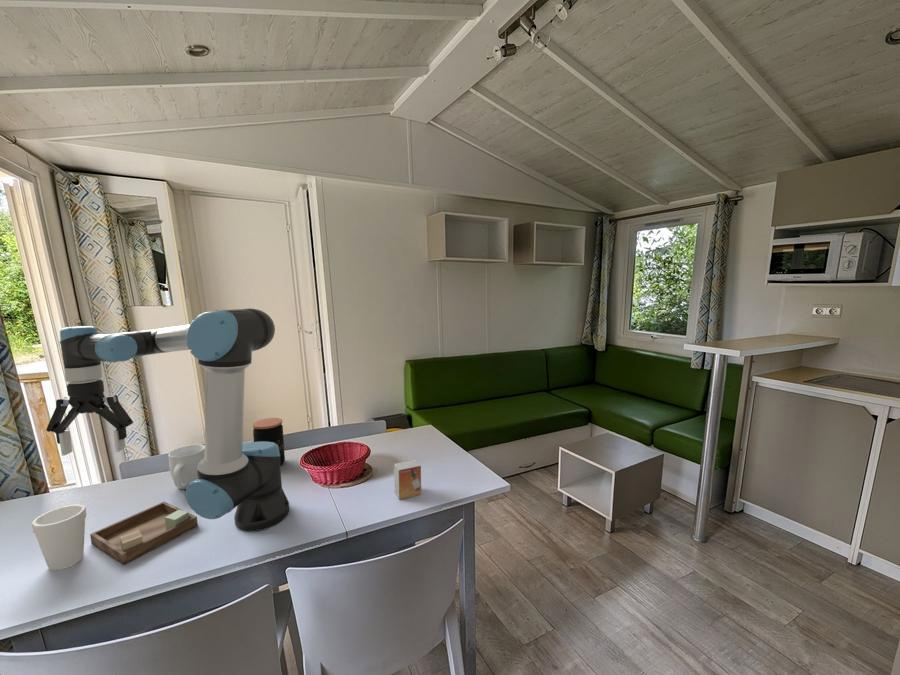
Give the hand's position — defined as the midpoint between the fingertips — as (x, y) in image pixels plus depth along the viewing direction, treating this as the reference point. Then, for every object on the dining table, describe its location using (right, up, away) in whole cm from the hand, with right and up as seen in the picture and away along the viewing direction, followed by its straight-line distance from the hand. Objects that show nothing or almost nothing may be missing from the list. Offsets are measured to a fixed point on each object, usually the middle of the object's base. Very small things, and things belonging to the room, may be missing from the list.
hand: (94, 451), depth 109 cm
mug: (+10, -20, +25) cm, 34 cm away
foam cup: (+5, -25, -12) cm, 28 cm away
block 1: (+19, -24, -9) cm, 32 cm away
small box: (+89, -20, +19) cm, 94 cm away
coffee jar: (+32, -18, +41) cm, 55 cm away
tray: (+17, -23, -2) cm, 29 cm away
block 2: (+24, -22, 0) cm, 33 cm away
